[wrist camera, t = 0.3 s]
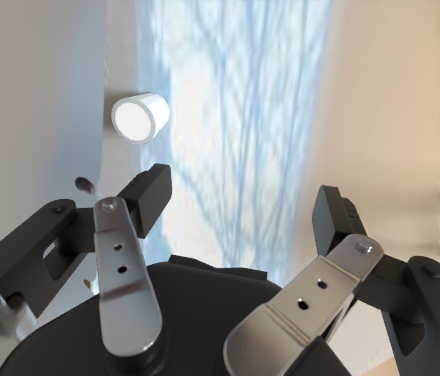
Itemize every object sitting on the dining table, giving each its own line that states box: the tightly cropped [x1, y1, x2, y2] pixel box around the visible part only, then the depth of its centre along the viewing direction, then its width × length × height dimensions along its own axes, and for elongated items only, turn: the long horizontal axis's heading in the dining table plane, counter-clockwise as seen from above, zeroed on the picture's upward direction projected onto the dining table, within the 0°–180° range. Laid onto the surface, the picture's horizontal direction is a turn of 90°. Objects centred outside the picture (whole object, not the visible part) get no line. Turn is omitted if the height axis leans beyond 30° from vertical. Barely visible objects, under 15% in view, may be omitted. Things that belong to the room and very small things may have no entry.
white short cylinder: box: [111, 93, 169, 145], centre depth 39 cm, size 7×7×7 cm
